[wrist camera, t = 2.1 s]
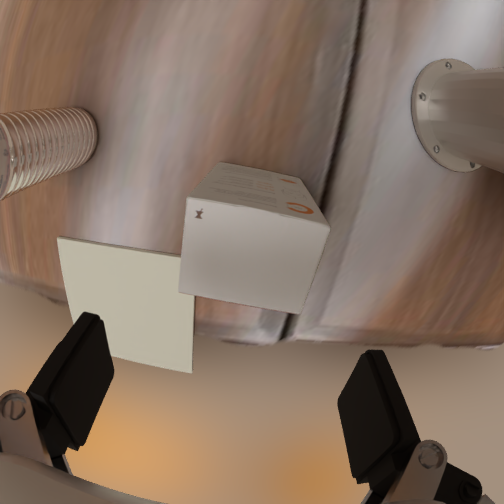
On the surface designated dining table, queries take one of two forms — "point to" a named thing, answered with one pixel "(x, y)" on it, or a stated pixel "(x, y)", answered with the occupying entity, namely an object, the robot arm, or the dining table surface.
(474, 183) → the dining table surface
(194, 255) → the small box
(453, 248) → the dining table surface
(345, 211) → the dining table surface
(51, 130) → the water bottle
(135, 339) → the mat
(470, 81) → the robot arm
